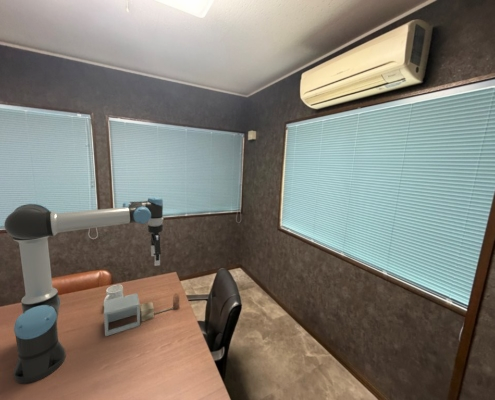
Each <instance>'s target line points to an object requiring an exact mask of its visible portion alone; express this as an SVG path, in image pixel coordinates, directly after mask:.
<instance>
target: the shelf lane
mask: <svg viewBox="0 0 495 400" xmlns="http://www.w3.org/2000/svg"><path fill="white" fill-rule="evenodd" d="M133 316H136V320H137V321H135V322H130V323H128V324H125V325H121V326H118V327H115V328H112V329H109V323H112V322H116V321H119V320H122V319H125V318H130V317H133ZM103 318H104V319H103V321H104V322H103V323H104V335H105V337H107V336H110V335H114V334H117V333H120V332H123V331H126V330H130V329H133V328H137V327H140V326H141V310H140V299H139V295H138V292H136V293H132V294H128V295H127V294H126V295H123V297H118V298H114V299H110V300H106V301H105V303H104V306H103Z"/></svg>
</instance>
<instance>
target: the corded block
mask: <svg viewBox="0 0 495 400" xmlns="http://www.w3.org/2000/svg"><path fill="white" fill-rule="evenodd" d="M139 306H140V321H141V322H144V321H148V320H151V319H155V315H157V314H160V313H163V312H167V311H170V310H174V311H176V310H178V309H180V294H179V293H174V294H173V295H172V307H169V308H165V309H162V310H159V311H155V310H154V309H155V308H154V304H153V301H150V302H147V303H142V304H139ZM154 311H155V312H154Z"/></svg>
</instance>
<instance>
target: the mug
mask: <svg viewBox="0 0 495 400" xmlns="http://www.w3.org/2000/svg"><path fill="white" fill-rule="evenodd" d="M105 291H106V292H105V293H106V294H105V295H106V296H105V297H104V298H103V299H104V300H103V307H104V303H105V301H106V300H110V299H114V298H118V297H123V296H124V287H123V285H122V284H114V285H111V286H109V287H107V289H106V290H105Z"/></svg>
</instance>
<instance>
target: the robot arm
mask: <svg viewBox="0 0 495 400" xmlns="http://www.w3.org/2000/svg"><path fill="white" fill-rule="evenodd" d="M163 203H164V201H163V198H162V197H160V196H149V197H147V200H145V201H142V200H141V201H124V202H123V203H122V207H113V208H101V209H93V210H91V209H89V210H79V211H69V212H68V211H67V212H55V211H53V210H51V211H50V210H49V208H48V207H46V206H44V205H42V204H40V203H39V204H38V203H26V204H23V205H20V206H18V207H16V208H15V209H14V211H12V212H11V213H10V214H8V216H6V218H5V221H4V229H5V231H6V233H7V234H9V235H10V236H11V237H12V240H13V241H15V242H17V243H18V245H19V253H20V254H19V255H20V260H21V262H20V263H21V268H22V277H23V283H24V285H23V286H24V291H25V295H24V296H23V297H22V298H21V308H22V313H21V314H20V315H18V317H17V319H16V320H15V321H14V326H13V327H14V328H13V331H14V335H15V341H16V349H17V354H18V359H17V360H16V365H15V366H14V370H13V377H14V380H15V382H17V383H18V384H31V383H34V382H37V381H40V380H42V379H44V378H45V377H47V376H49V375H51V374H52V373H53V372H55V371H56V370H57V369H59V367H60V366H61V365H62V364H63V363H64V361H65V358H66V350H65V348H64V346H63V345H62V343H61V342H60V340H59V334H58V333H59V332H58V318H59V311H60V305H61V299H60V297H59V291H58V289H57V288H55V287H53V279H52V268H51V260H50V251H49V250H50V249H49V241H48V238H49V237H55V236H56V235H57V234H59V233H65V232H72V231H79V230H86V229H93V228H94V229H96V228H102V227H109V226H118V225H125V224H131V223H132V224H135V223H137V224H146V223H147V231H148V232H149V233H150V234H151V235H150V256H151V257H154V266H155V267H156V266H161V254H162V252H161V236H160V233H162V232H163V220H165V219H164V217H163V216H164V215H163V213H164V212H163V211H164V210H163V209H164V204H163Z"/></svg>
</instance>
